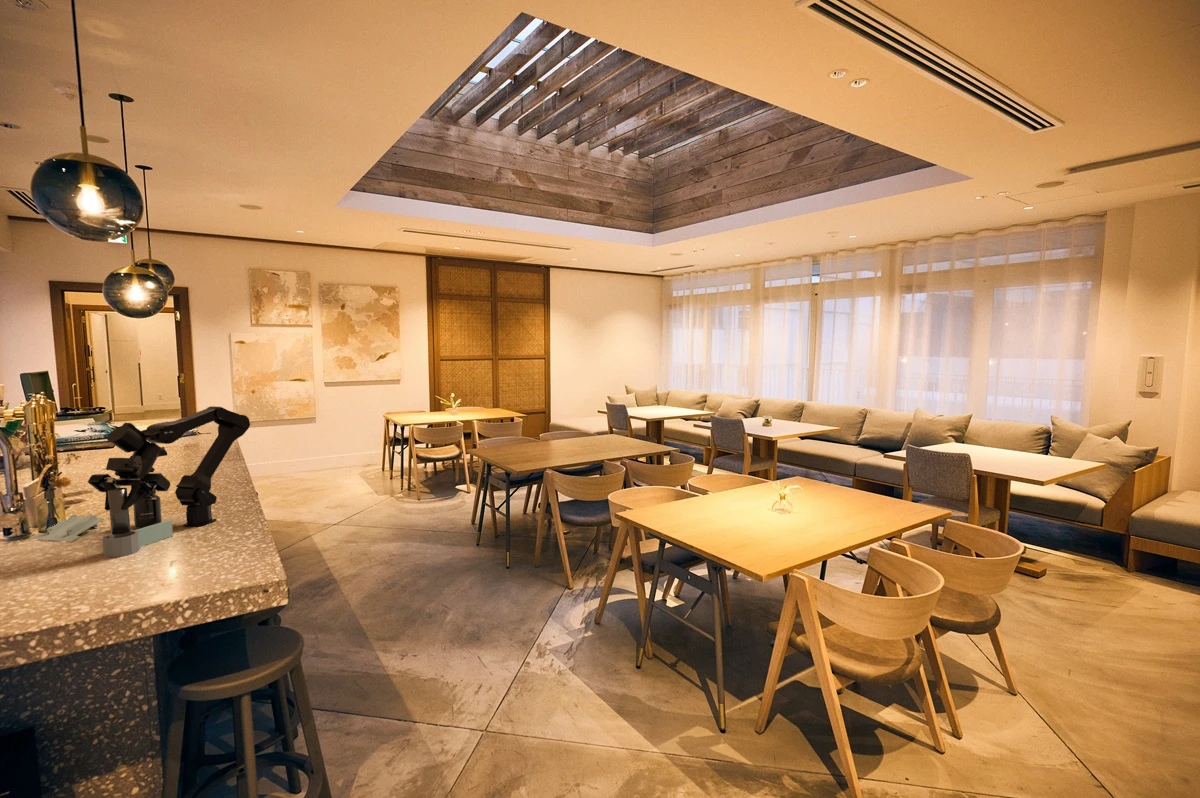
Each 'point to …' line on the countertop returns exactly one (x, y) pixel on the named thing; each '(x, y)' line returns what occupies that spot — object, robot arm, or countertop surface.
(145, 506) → the supplement bottle
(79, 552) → the countertop surface
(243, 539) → the countertop surface
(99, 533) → the countertop surface
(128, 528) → the hinge pin
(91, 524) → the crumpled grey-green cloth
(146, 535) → the grey forked piece
